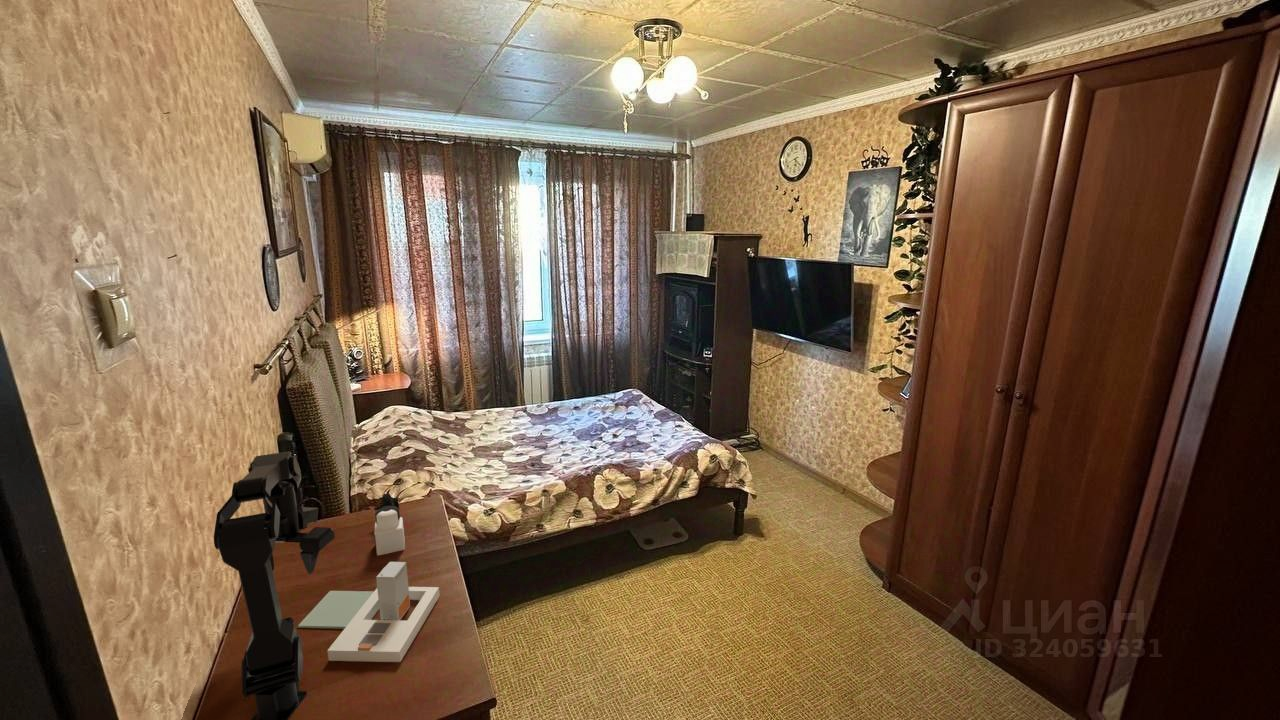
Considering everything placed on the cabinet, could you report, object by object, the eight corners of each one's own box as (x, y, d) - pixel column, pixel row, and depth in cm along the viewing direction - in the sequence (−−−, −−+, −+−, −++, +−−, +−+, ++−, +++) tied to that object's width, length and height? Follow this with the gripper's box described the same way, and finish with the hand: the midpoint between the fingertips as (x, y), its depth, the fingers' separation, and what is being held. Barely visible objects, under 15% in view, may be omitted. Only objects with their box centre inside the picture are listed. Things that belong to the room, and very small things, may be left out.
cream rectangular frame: (400, 662, 107) (398, 649, 106) (328, 660, 107) (327, 647, 107) (439, 596, 127) (438, 585, 126) (379, 595, 127) (378, 584, 127)
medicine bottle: (377, 544, 149) (373, 506, 146) (404, 538, 152) (400, 500, 149) (376, 557, 143) (372, 518, 140) (405, 551, 146) (401, 512, 143)
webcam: (404, 526, 158) (401, 496, 156) (377, 533, 154) (374, 503, 152) (401, 515, 164) (398, 486, 162) (375, 521, 161) (371, 492, 158)
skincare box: (398, 624, 118) (393, 577, 115) (380, 623, 118) (374, 577, 115) (411, 606, 124) (406, 561, 121) (394, 605, 124) (389, 561, 121)
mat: (351, 629, 116) (350, 626, 116) (298, 628, 116) (297, 625, 116) (378, 593, 128) (378, 591, 128) (330, 592, 128) (330, 590, 128)
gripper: (345, 492, 119) (353, 552, 123) (267, 489, 120) (277, 549, 124) (312, 517, 108) (322, 582, 112) (227, 514, 109) (240, 579, 113)
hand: (291, 572), depth 115 cm, fingers open, 9 cm apart
